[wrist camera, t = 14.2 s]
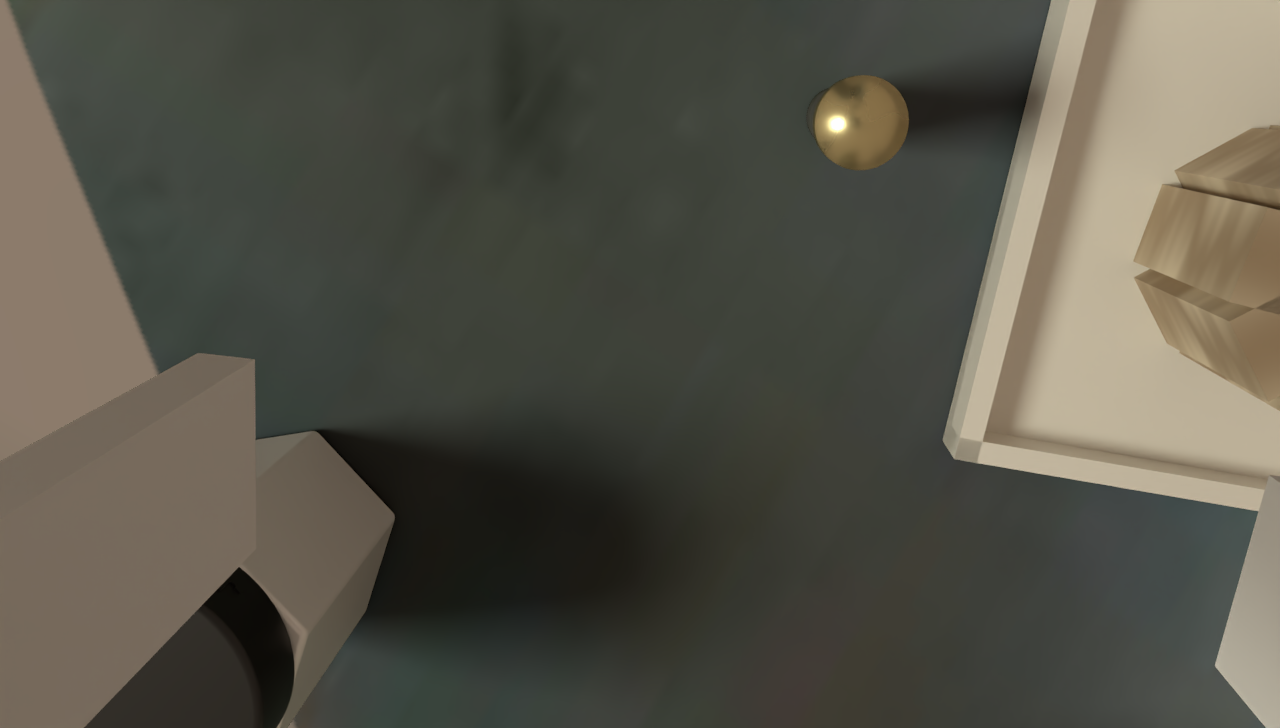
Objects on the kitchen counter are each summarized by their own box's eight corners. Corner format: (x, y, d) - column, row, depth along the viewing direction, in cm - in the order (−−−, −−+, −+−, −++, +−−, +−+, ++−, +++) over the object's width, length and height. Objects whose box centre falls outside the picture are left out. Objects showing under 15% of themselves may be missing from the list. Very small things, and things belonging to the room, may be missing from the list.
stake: (805, 71, 36) (825, 68, 29) (881, 84, 35) (918, 83, 29) (791, 148, 36) (806, 162, 30) (865, 160, 36) (897, 176, 30)
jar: (371, 414, 40) (230, 548, 28) (420, 606, 42) (307, 804, 30) (154, 448, 41) (-68, 591, 29) (212, 634, 43) (25, 835, 31)
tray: (1067, -65, 34) (1088, -75, 32) (1616, 20, 33) (1671, 16, 31) (942, 440, 39) (954, 458, 37) (1422, 522, 38) (1460, 545, 36)
